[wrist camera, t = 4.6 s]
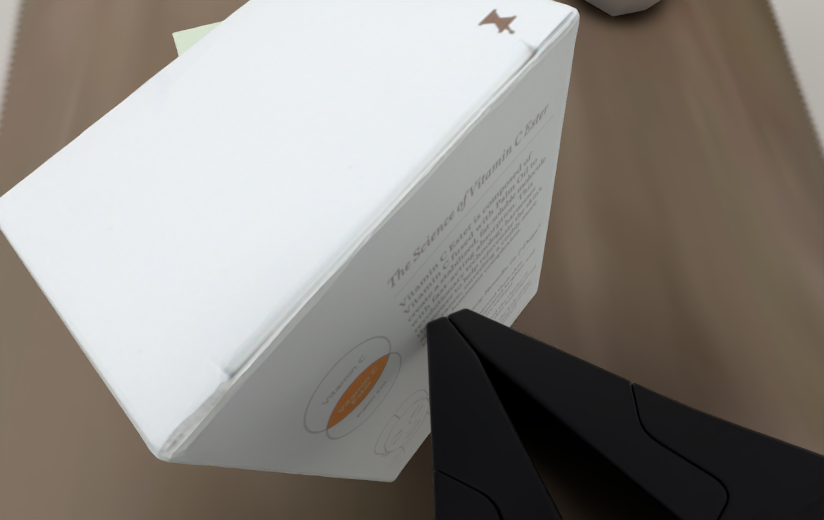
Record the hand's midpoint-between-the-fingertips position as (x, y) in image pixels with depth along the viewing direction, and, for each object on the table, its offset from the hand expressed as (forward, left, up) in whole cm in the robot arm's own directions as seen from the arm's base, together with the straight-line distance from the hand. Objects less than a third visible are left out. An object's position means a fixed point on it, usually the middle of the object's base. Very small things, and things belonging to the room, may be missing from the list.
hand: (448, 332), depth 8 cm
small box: (+1, 0, -7) cm, 7 cm away
